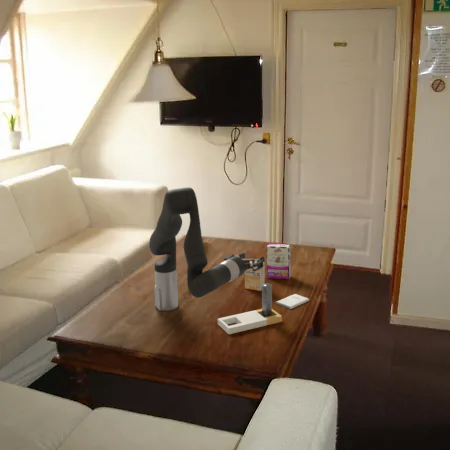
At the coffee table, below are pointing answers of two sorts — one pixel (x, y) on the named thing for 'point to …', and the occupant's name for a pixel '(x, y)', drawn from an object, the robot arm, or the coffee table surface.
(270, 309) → the peg
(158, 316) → the coffee table surface
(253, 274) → the supplement box
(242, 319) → the rail
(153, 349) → the coffee table surface
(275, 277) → the candy bar box
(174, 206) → the robot arm
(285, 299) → the external hard drive
